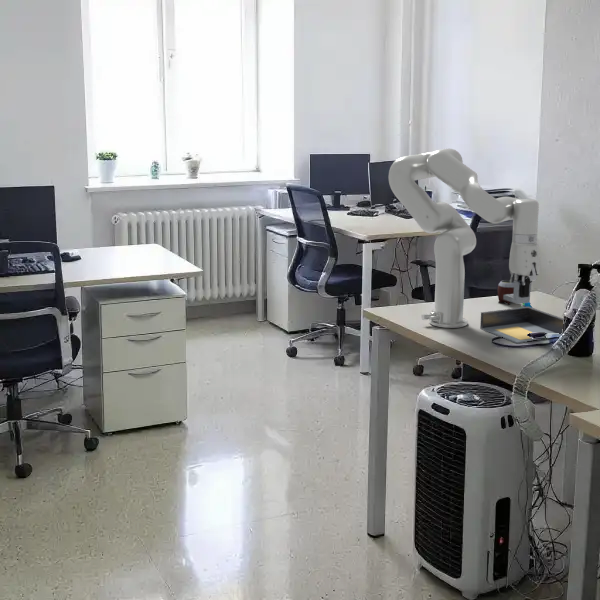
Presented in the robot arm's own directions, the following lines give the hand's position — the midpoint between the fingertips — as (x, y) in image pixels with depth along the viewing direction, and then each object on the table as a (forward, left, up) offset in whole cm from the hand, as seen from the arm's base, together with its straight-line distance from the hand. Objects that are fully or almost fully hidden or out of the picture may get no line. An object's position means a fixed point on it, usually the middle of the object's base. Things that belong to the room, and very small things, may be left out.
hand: (522, 295), depth 288 cm
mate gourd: (+23, +37, -13) cm, 46 cm away
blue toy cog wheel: (+18, +20, -13) cm, 30 cm away
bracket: (0, +3, -2) cm, 3 cm away
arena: (+2, +1, -13) cm, 13 cm away
